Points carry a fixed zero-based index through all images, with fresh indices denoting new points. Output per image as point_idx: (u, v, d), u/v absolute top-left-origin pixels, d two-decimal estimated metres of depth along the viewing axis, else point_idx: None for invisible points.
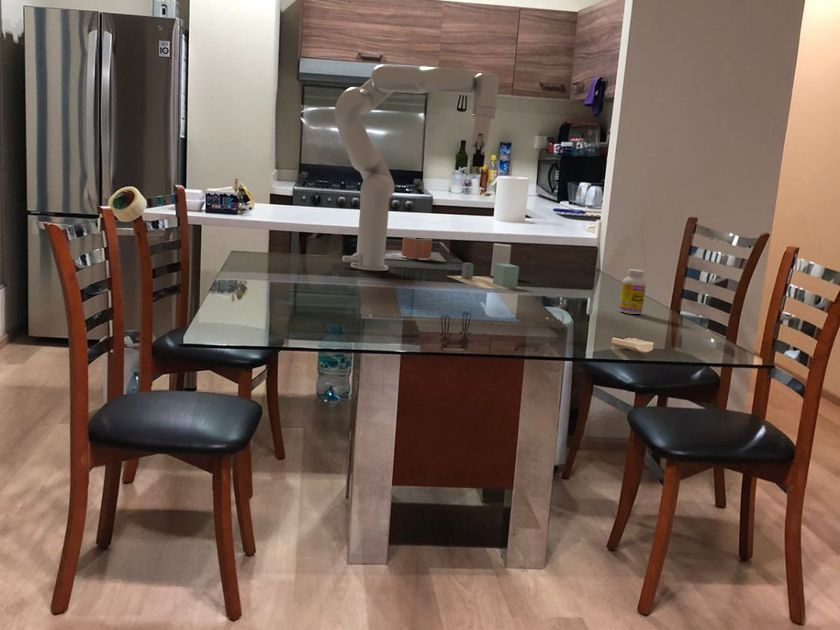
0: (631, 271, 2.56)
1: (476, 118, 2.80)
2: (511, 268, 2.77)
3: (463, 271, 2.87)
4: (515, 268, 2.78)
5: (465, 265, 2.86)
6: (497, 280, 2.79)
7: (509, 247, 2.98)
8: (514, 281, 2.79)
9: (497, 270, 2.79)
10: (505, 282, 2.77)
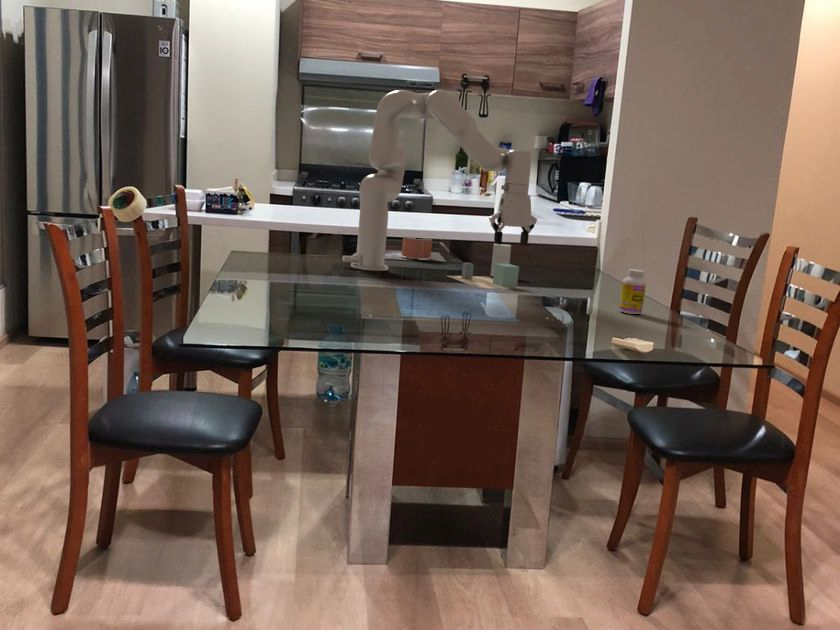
0: (631, 271, 2.56)
1: None
2: (511, 268, 2.77)
3: (463, 271, 2.87)
4: (515, 268, 2.78)
5: (465, 265, 2.86)
6: (497, 280, 2.79)
7: (509, 247, 2.98)
8: (514, 281, 2.79)
9: (497, 270, 2.79)
10: (505, 282, 2.77)
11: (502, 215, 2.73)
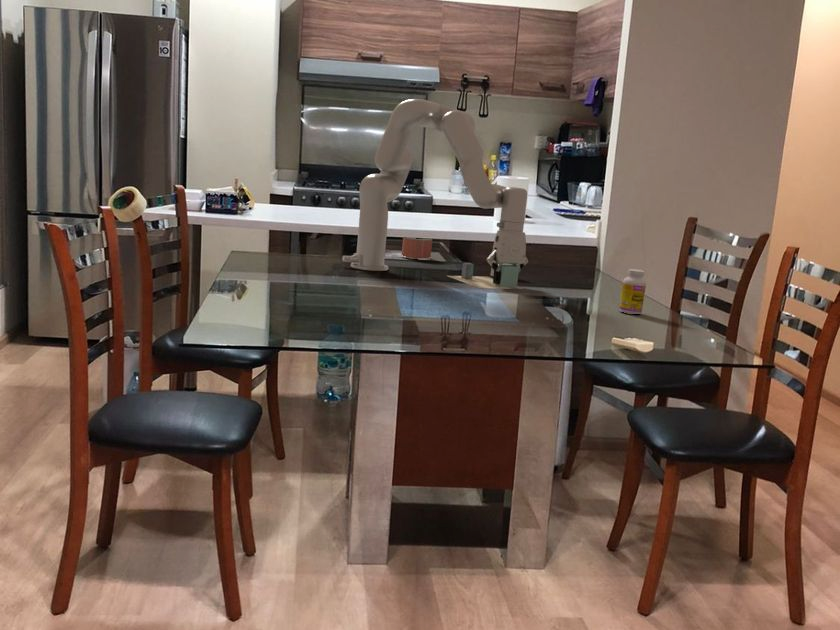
0: (631, 271, 2.56)
1: None
2: (511, 268, 2.77)
3: (463, 271, 2.87)
4: (515, 268, 2.78)
5: (465, 265, 2.86)
6: None
7: None
8: (514, 281, 2.79)
9: None
10: (505, 282, 2.77)
11: (497, 253, 2.75)
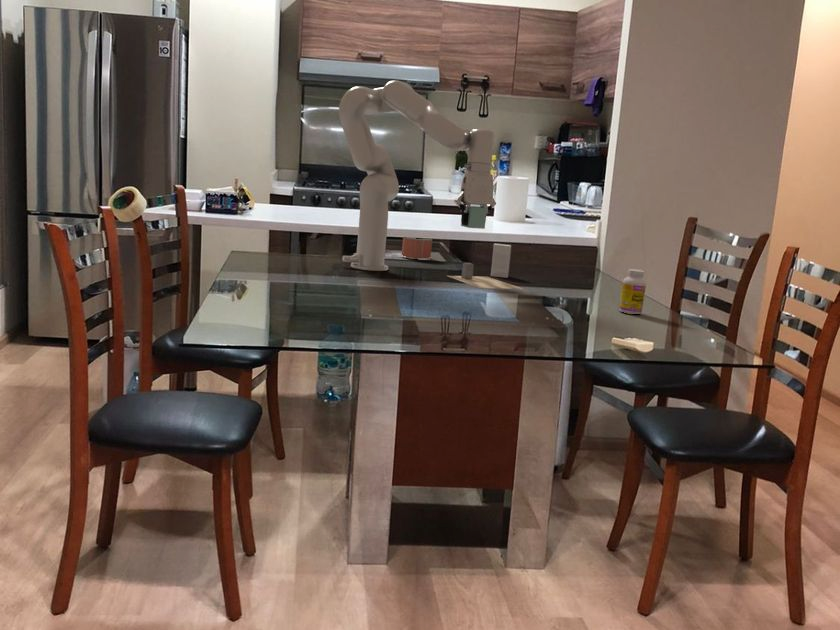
0: (631, 271, 2.56)
1: (492, 176, 2.82)
2: (479, 209, 2.81)
3: (463, 271, 2.87)
4: (483, 209, 2.82)
5: (465, 265, 2.86)
6: None
7: (509, 247, 2.98)
8: (482, 222, 2.82)
9: None
10: (472, 223, 2.81)
11: (464, 194, 2.79)
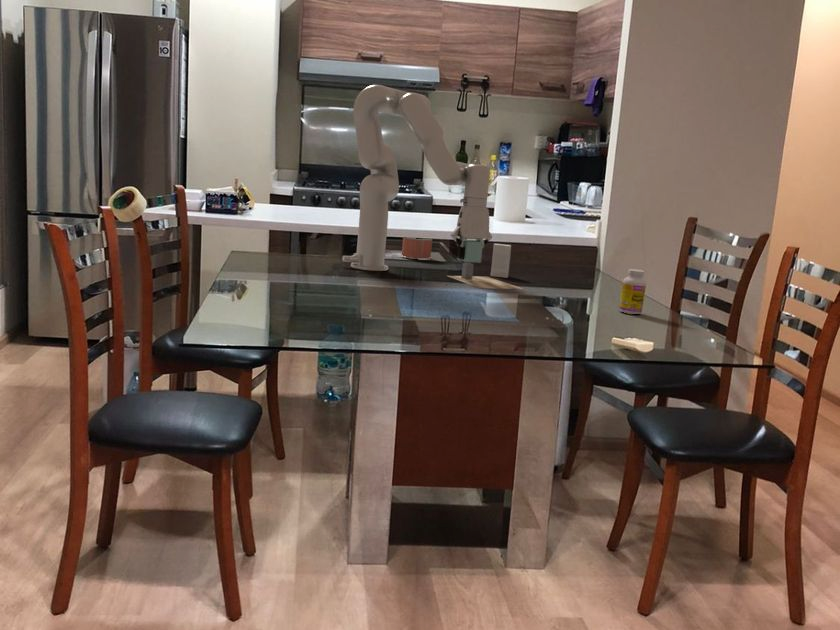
0: (631, 271, 2.56)
1: (488, 210, 2.84)
2: (475, 243, 2.83)
3: (463, 271, 2.87)
4: (479, 243, 2.84)
5: (465, 265, 2.86)
6: None
7: (509, 247, 2.98)
8: (478, 256, 2.85)
9: None
10: (469, 257, 2.83)
11: (460, 228, 2.81)
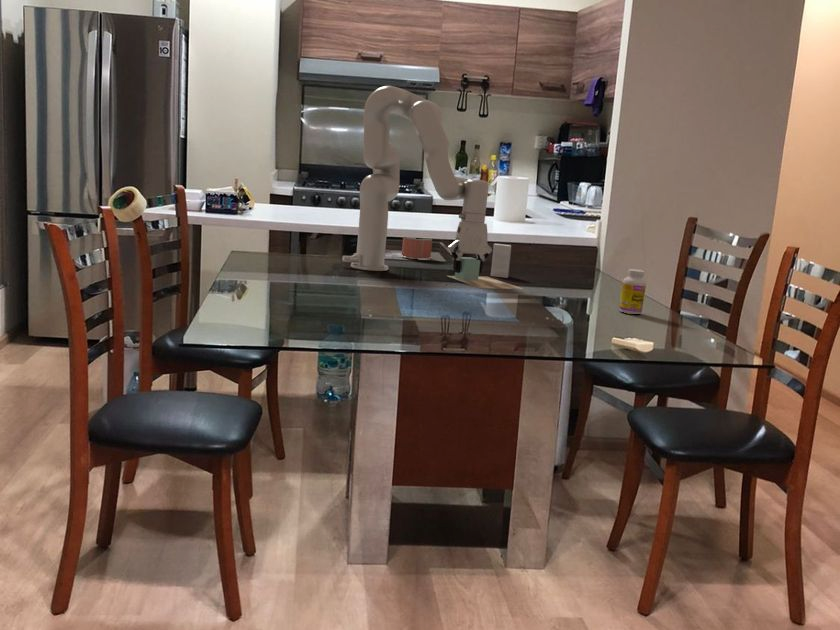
0: (631, 271, 2.56)
1: (486, 226, 2.85)
2: (472, 261, 2.84)
3: None
4: (476, 261, 2.85)
5: None
6: (459, 273, 2.86)
7: (509, 247, 2.98)
8: (475, 274, 2.86)
9: None
10: (466, 275, 2.84)
11: (458, 243, 2.82)
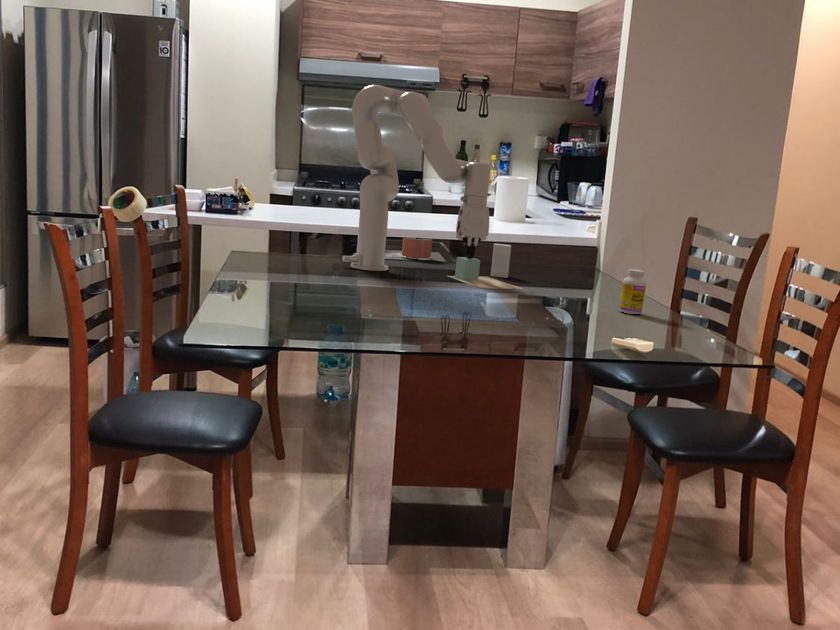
0: (631, 271, 2.56)
1: (488, 208, 2.84)
2: (472, 261, 2.84)
3: None
4: (476, 261, 2.85)
5: None
6: (459, 273, 2.86)
7: (509, 247, 2.98)
8: (475, 274, 2.86)
9: (459, 263, 2.86)
10: (466, 275, 2.84)
11: (460, 226, 2.81)
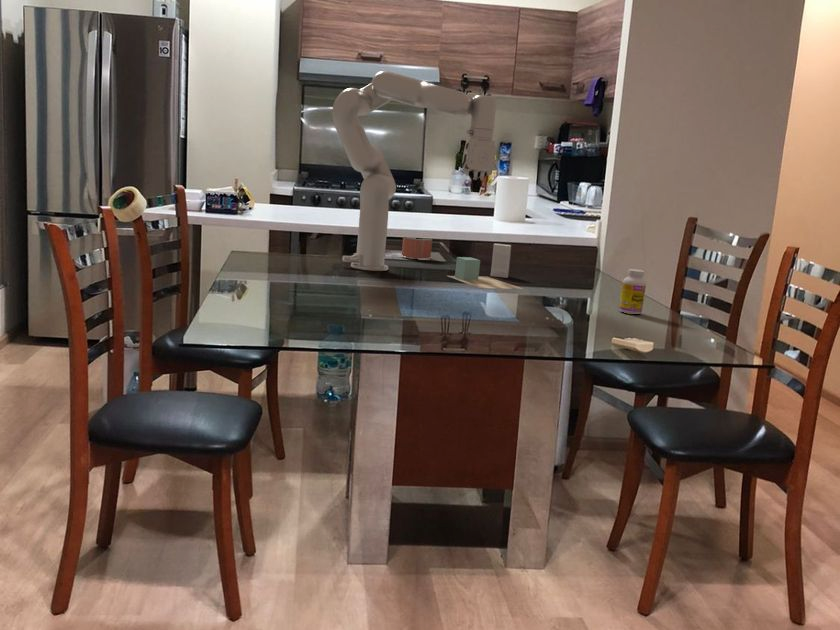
0: (631, 271, 2.56)
1: (494, 142, 2.84)
2: (472, 261, 2.84)
3: None
4: (476, 261, 2.85)
5: None
6: (459, 273, 2.86)
7: (509, 247, 2.98)
8: (475, 274, 2.86)
9: (459, 263, 2.86)
10: (466, 275, 2.84)
11: (466, 159, 2.81)
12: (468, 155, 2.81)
